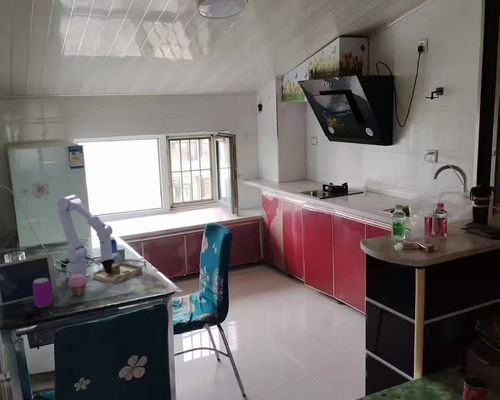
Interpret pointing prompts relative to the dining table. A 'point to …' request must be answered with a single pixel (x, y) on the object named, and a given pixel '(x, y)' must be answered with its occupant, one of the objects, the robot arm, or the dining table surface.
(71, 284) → the cupcake
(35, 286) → the beverage can
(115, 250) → the beer can
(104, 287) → the dining table surface
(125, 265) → the divided beige tray
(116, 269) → the walnut block
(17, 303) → the dining table surface
